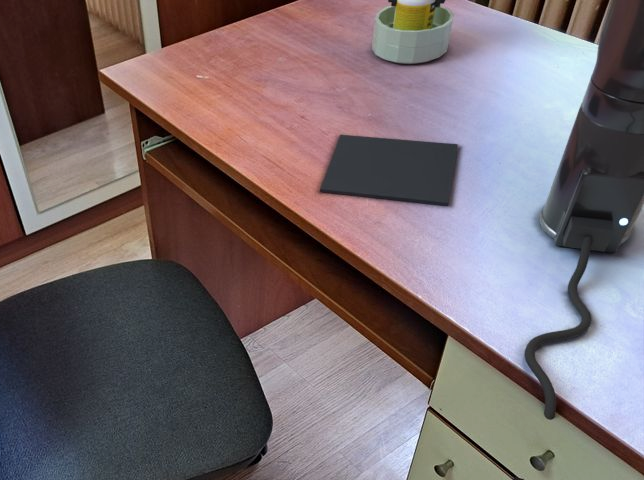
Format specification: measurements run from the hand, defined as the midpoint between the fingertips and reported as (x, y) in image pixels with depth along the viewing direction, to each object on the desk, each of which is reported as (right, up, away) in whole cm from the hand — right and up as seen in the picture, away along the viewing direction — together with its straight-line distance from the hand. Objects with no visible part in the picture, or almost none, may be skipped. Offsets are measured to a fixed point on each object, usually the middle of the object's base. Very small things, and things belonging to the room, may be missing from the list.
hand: (415, 4), depth 106 cm
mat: (-10, -32, -18) cm, 38 cm away
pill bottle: (+1, -5, +5) cm, 7 cm away
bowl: (+1, -5, +5) cm, 7 cm away
